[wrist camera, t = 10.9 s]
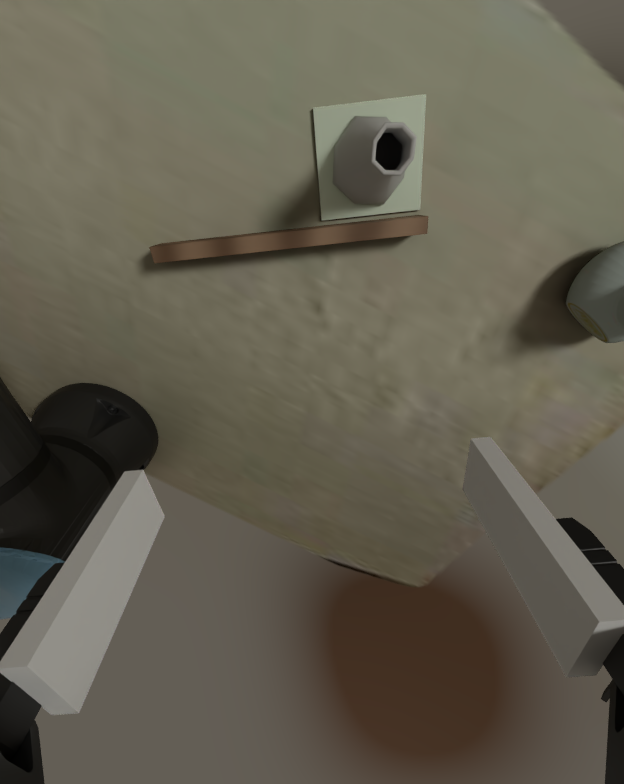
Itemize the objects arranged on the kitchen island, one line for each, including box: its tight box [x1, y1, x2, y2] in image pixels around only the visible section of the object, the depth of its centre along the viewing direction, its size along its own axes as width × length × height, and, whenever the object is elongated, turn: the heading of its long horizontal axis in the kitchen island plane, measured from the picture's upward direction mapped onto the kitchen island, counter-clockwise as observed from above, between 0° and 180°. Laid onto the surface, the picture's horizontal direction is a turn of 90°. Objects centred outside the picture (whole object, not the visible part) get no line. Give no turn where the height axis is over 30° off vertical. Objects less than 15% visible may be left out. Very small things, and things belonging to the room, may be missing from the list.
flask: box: [333, 116, 417, 205], centre depth 28 cm, size 7×7×10 cm
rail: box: [149, 215, 428, 263], centre depth 34 cm, size 27×2×3 cm, turn 96°
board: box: [313, 94, 426, 220], centre depth 32 cm, size 10×9×1 cm
